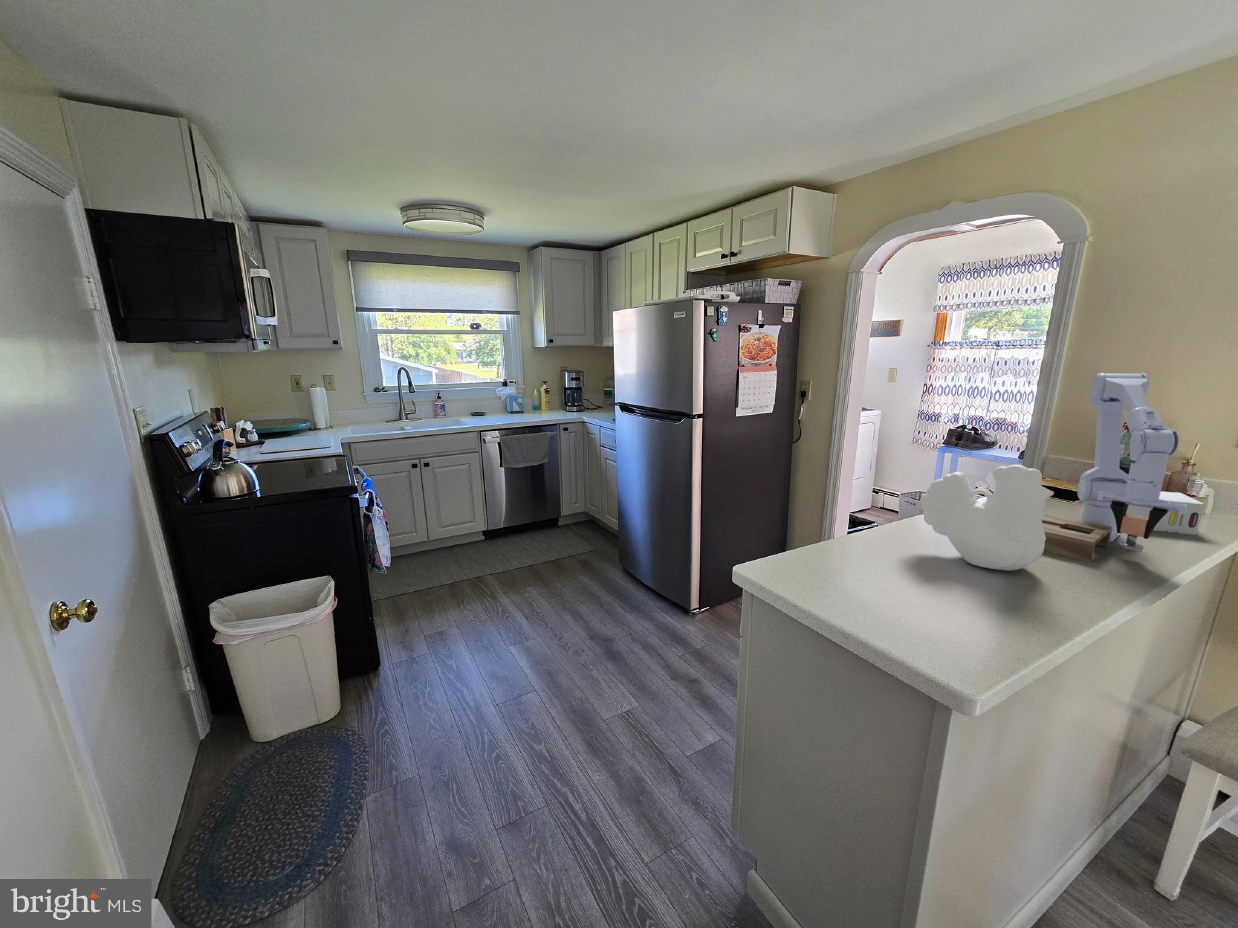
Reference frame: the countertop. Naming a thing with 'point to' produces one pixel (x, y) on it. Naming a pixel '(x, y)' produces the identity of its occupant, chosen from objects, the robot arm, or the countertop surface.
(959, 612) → the countertop surface
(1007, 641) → the countertop surface
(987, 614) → the countertop surface
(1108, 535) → the keyhole board
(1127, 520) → the brown piece
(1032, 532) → the decorative rooster
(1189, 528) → the supplement box
